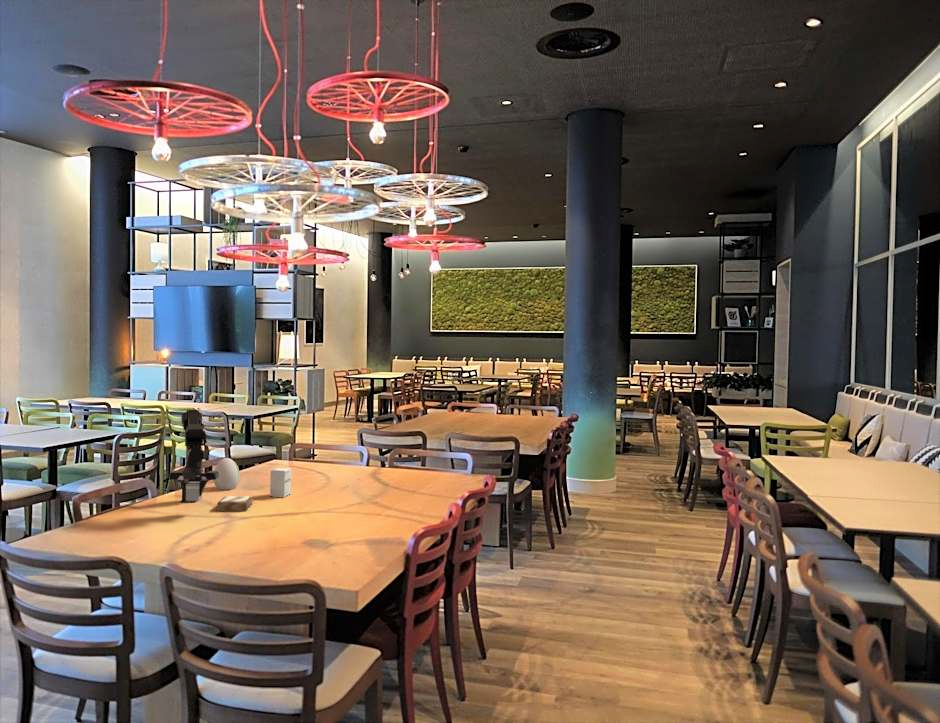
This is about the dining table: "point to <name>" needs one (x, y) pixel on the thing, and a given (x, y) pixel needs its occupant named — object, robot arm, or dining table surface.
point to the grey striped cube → (193, 491)
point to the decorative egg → (227, 474)
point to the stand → (234, 503)
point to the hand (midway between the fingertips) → (193, 495)
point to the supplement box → (280, 482)
